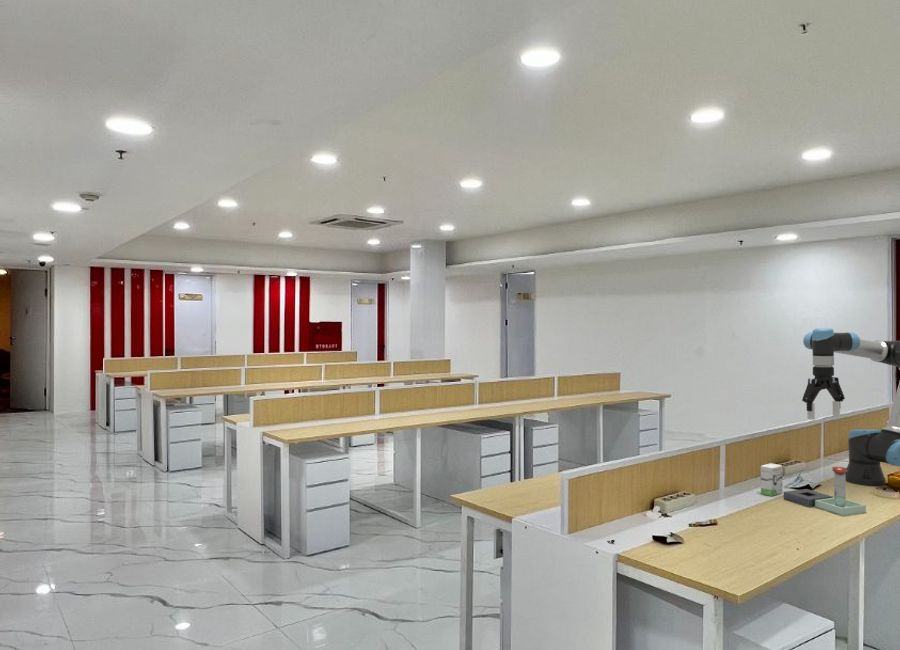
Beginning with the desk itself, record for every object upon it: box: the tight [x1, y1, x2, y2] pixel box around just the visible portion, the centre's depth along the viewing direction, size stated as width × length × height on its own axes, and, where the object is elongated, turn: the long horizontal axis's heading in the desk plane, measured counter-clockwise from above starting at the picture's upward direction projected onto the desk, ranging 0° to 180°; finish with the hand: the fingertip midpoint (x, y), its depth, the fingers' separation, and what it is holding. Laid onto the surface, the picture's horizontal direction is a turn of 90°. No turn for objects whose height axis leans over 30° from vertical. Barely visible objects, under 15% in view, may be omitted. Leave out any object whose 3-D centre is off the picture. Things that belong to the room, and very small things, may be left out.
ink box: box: [760, 462, 784, 497], centre depth 261 cm, size 9×5×12 cm, turn 124°
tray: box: [814, 497, 867, 517], centre depth 238 cm, size 12×12×3 cm
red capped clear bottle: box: [832, 466, 847, 508], centre depth 238 cm, size 5×5×15 cm
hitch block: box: [783, 488, 834, 508], centre depth 249 cm, size 12×12×3 cm
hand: (823, 418), depth 258 cm, fingers open, 13 cm apart
